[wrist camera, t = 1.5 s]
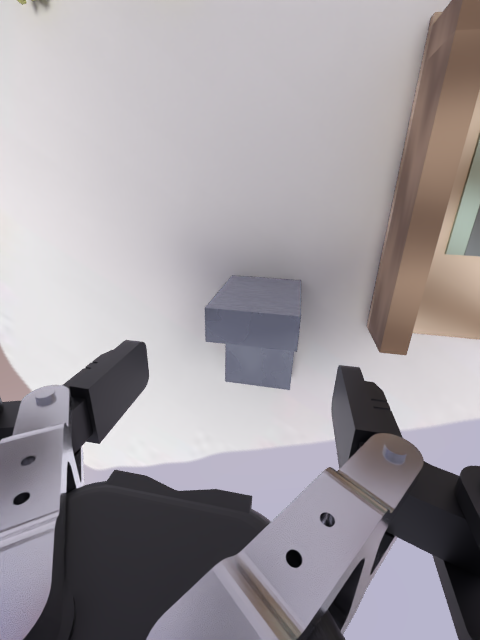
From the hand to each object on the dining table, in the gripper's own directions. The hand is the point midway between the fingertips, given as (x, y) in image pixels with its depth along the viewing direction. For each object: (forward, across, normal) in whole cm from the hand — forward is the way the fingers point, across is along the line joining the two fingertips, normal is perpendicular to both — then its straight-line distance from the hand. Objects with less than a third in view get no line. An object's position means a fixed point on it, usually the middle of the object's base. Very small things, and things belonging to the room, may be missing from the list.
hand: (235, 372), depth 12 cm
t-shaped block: (+11, 0, +3) cm, 11 cm away
